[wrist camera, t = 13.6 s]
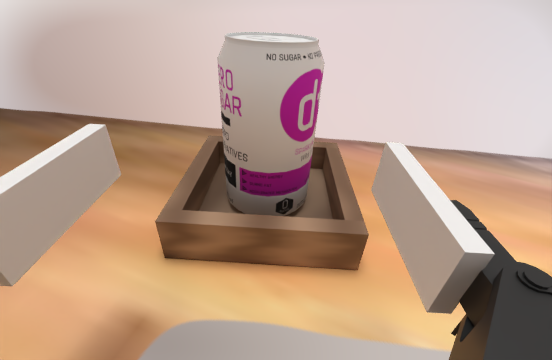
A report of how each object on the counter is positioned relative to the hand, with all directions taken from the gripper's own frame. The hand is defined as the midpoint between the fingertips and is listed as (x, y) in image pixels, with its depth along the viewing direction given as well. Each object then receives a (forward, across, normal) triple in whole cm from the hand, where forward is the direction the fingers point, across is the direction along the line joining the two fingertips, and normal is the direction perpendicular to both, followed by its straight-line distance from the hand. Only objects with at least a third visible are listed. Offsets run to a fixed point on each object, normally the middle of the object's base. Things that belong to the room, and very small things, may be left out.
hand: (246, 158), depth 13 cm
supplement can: (+11, +1, -11) cm, 16 cm away
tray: (+11, +1, -12) cm, 16 cm away
